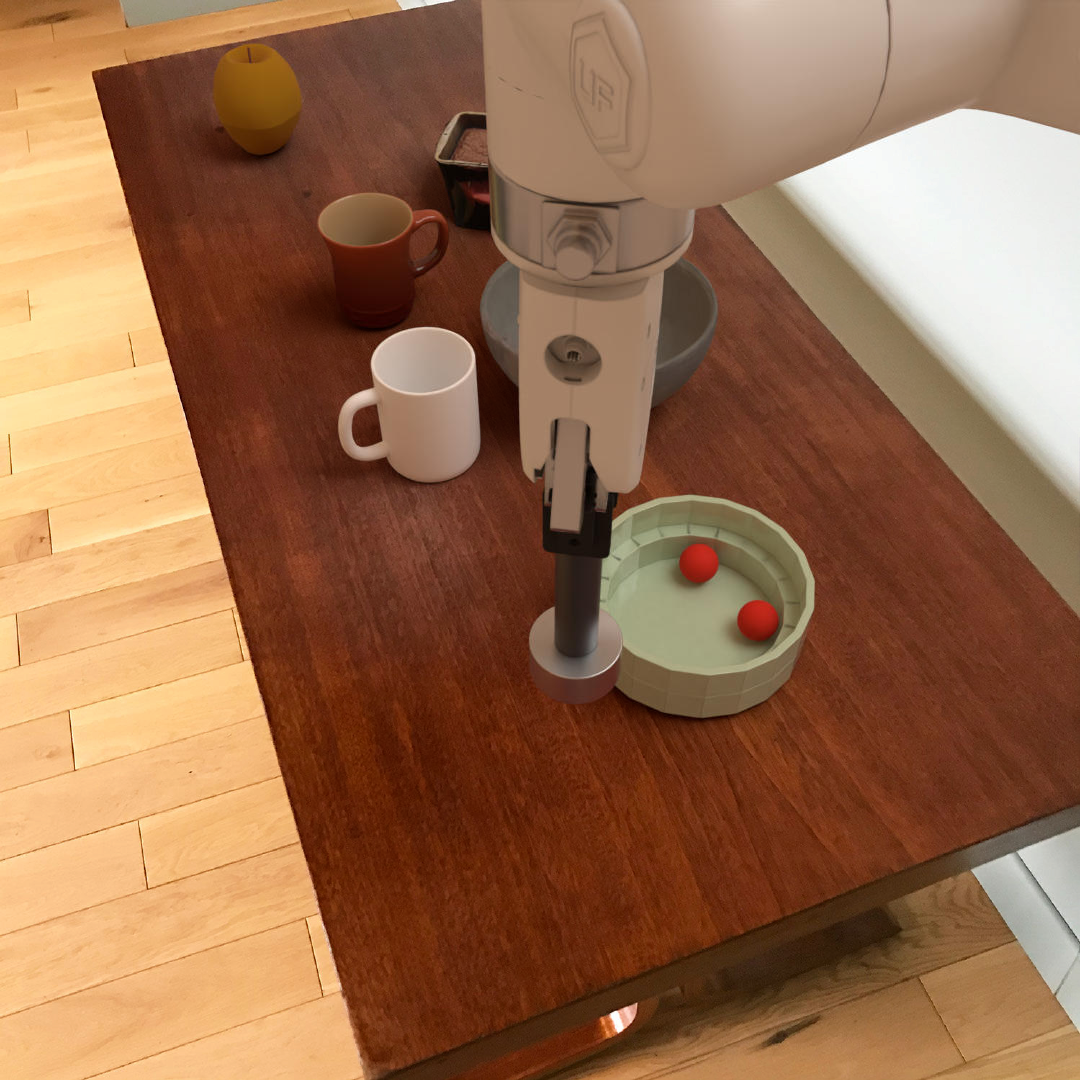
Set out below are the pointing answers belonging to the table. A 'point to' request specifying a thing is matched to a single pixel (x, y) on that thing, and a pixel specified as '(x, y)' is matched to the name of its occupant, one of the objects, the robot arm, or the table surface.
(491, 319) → the bowl
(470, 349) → the cup
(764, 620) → the tomato
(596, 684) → the dark post
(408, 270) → the mug
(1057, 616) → the table surface
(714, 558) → the tomato
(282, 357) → the table surface
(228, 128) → the apple
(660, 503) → the mixing bowl
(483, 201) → the baking dish
